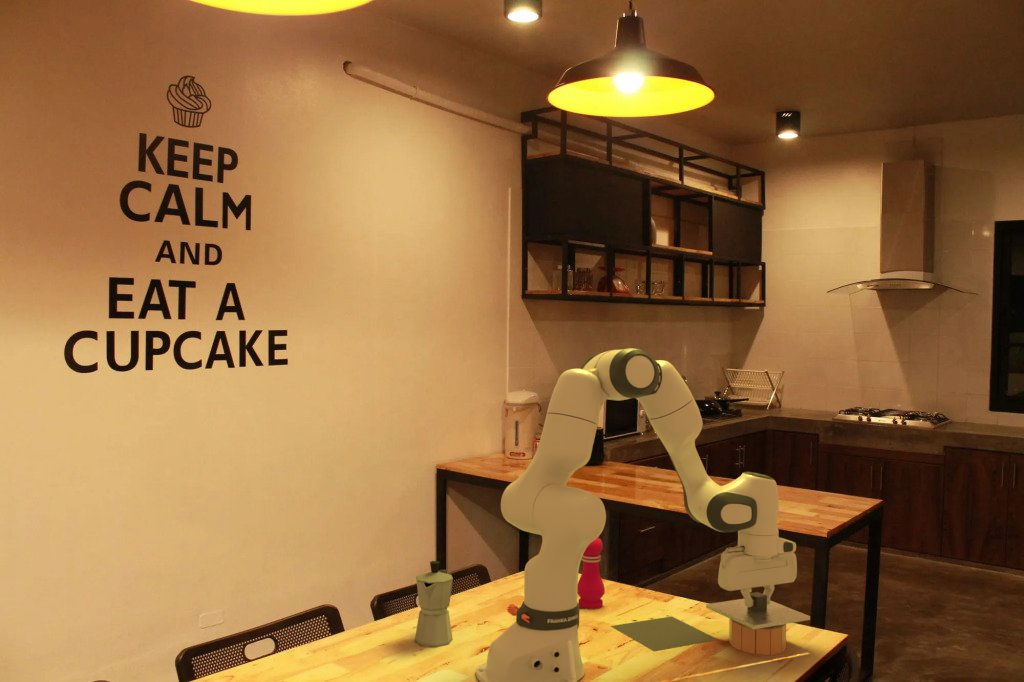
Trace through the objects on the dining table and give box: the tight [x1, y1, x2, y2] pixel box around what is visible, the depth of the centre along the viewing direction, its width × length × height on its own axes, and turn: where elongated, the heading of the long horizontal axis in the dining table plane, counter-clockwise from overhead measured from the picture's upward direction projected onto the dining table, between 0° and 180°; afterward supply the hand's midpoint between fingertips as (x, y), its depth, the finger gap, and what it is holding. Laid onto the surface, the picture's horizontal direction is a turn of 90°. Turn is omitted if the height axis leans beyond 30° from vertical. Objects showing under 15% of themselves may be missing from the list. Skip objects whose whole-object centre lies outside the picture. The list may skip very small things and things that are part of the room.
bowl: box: [728, 618, 787, 656], centre depth 190 cm, size 12×12×6 cm
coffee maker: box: [414, 560, 454, 648], centre depth 193 cm, size 15×9×18 cm, turn 168°
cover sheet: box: [705, 591, 811, 629], centre depth 190 cm, size 16×16×4 cm
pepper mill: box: [577, 537, 606, 610], centre depth 217 cm, size 7×7×20 cm
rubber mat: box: [610, 615, 719, 652], centre depth 197 cm, size 18×18×1 cm
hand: (757, 605), depth 190 cm, fingers closed on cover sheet, 3 cm apart
